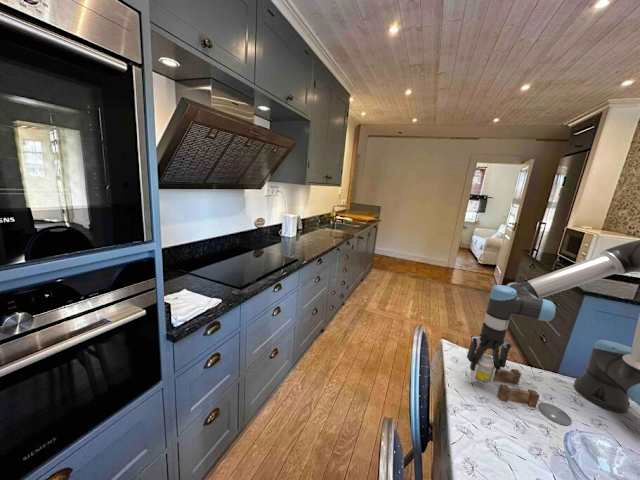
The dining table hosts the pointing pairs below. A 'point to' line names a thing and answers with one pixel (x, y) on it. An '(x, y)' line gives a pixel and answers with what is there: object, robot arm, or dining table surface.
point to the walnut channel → (512, 393)
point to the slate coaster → (554, 414)
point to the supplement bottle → (484, 369)
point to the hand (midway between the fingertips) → (481, 378)
